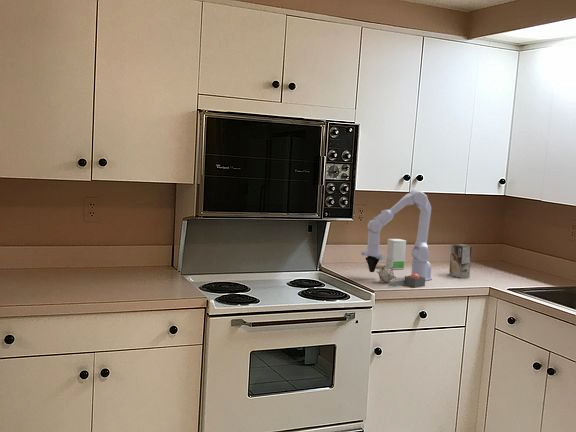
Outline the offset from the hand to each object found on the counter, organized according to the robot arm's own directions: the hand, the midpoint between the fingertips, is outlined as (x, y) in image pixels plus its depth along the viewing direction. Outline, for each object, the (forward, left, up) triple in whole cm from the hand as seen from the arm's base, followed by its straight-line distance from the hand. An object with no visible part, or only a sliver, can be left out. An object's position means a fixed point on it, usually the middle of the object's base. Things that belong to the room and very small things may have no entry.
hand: (371, 271), depth 320 cm
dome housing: (-8, +20, -3) cm, 22 cm away
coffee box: (-46, +16, -3) cm, 49 cm away
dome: (-8, +20, -3) cm, 22 cm away
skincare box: (-29, -13, -3) cm, 32 cm away
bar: (0, +17, -3) cm, 17 cm away
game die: (0, +10, -3) cm, 11 cm away
